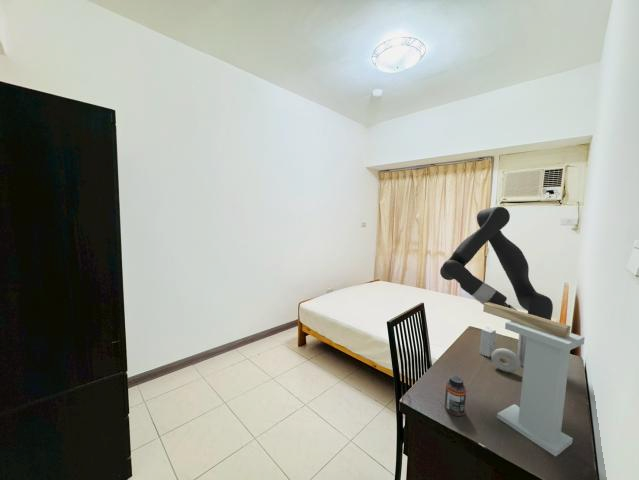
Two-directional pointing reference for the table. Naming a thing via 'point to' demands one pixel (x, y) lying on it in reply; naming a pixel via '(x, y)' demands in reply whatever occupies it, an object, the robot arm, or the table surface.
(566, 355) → the stand
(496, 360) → the donut
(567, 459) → the table surface
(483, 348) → the skincare box
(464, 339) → the table surface
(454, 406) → the supplement bottle
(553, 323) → the beige block
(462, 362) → the table surface
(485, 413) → the table surface
